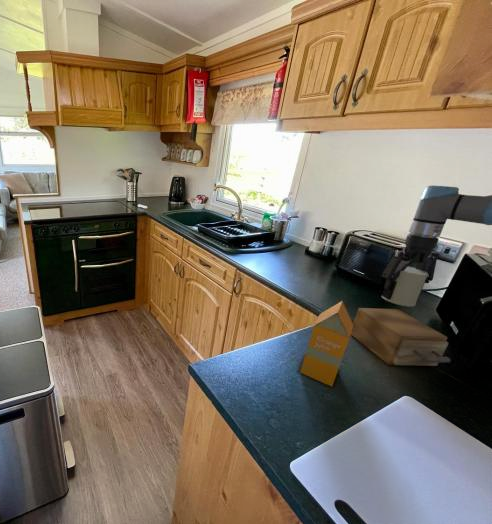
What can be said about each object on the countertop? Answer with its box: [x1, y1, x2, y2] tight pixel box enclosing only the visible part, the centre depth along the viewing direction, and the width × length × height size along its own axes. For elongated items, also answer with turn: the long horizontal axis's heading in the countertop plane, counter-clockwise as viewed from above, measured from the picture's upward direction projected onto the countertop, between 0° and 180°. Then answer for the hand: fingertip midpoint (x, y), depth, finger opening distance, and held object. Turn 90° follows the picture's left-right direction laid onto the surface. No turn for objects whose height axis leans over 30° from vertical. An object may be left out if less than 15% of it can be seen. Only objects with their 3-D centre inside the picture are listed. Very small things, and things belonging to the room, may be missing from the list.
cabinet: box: [351, 307, 448, 366], centre depth 89 cm, size 16×14×10 cm
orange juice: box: [299, 300, 353, 388], centre depth 75 cm, size 8×9×20 cm
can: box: [381, 266, 429, 308], centre depth 99 cm, size 9×9×12 cm
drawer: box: [392, 339, 451, 367], centre depth 85 cm, size 19×13×8 cm
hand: (399, 298), depth 100 cm, fingers closed on can, 9 cm apart
